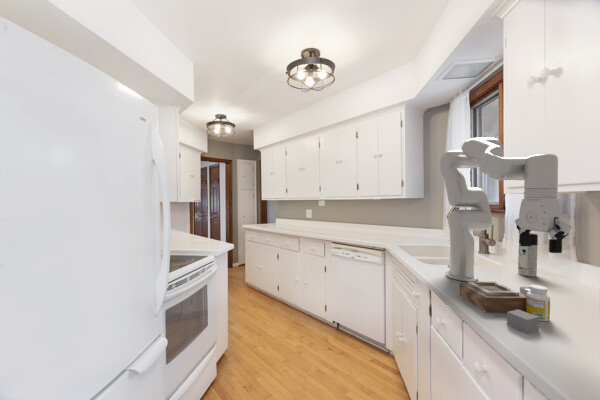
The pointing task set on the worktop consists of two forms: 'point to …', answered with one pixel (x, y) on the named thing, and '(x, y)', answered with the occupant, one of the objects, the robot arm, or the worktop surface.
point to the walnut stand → (492, 297)
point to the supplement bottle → (538, 302)
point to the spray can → (528, 258)
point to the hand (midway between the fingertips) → (539, 249)
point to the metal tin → (524, 290)
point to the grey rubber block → (522, 321)
